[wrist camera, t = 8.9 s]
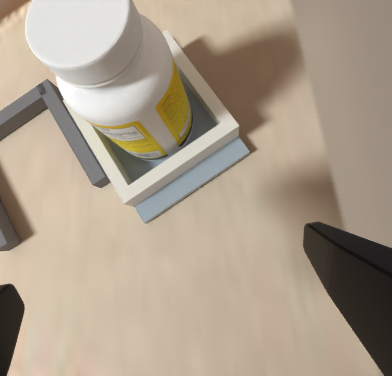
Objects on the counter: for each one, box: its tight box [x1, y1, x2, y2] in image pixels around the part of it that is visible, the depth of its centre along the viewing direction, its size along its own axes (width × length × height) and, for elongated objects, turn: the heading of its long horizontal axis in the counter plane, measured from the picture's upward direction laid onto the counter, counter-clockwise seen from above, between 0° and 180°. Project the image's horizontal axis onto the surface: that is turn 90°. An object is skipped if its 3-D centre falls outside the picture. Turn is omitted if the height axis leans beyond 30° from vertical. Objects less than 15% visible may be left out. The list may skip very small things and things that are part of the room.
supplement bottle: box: [25, 0, 194, 161], centre depth 14 cm, size 5×5×10 cm
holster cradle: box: [0, 79, 111, 251], centre depth 20 cm, size 9×9×1 cm
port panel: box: [63, 30, 250, 223], centre depth 18 cm, size 11×8×2 cm
